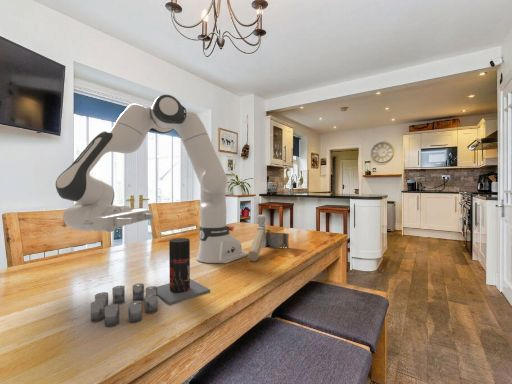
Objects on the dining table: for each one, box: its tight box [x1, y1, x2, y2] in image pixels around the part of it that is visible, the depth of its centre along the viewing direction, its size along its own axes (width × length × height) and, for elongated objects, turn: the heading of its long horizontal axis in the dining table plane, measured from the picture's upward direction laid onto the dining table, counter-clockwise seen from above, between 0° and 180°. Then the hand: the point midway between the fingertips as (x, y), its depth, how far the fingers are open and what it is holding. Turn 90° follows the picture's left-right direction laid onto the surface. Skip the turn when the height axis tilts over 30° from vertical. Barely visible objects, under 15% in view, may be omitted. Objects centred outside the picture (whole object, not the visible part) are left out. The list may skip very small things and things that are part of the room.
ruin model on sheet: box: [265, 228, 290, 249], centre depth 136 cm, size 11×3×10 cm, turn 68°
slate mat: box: [156, 278, 211, 305], centre depth 81 cm, size 13×13×1 cm
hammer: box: [247, 214, 267, 262], centre depth 125 cm, size 16×5×30 cm
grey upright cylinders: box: [89, 282, 159, 328], centre depth 69 cm, size 16×16×4 cm
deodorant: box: [168, 237, 191, 293], centre depth 81 cm, size 6×6×15 cm
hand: (142, 218), depth 85 cm, fingers open, 8 cm apart
